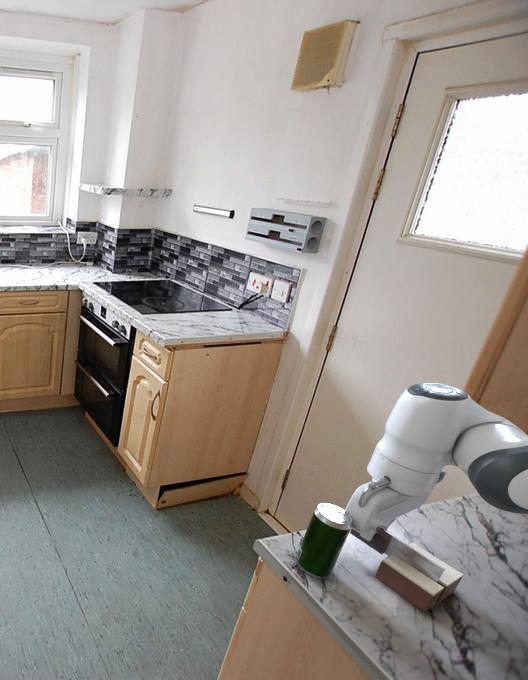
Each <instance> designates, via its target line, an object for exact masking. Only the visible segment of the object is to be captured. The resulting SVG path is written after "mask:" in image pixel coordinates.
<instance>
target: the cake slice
mask: <svg viewBox="0 0 528 680" xmlns="http://www.w3.org/2000/svg"><path fill="white" fill-rule="evenodd" d="M374 577H375V578H376V579H377V580H379V581H380V582H382V583H383V584H384V585H385V586H387V587H389V588H390V589H392V590H393V591H394V592H395V593H397V594H399V595H400V596H402V597H403V598H404V599H405V600H407V601H408V602H410V603H411V604H413V605H414V606H415V607H417V608H418V609H420V610H421V611H422V612H424V613H425V612H427V611H429V610H430V609H431V608H433V607H434V606H435V605H436V603H437V602H436V601H437V600H438V598H439V596H440V594H441V593H442V591H443V589H444V587H442V586H441V585H439V584H438V583H436V582H435V581H433V580H432V579H430V578H429V577H427V576H426V575H424V574H423V573H421V572H420V571H418V570H417V569H415V568H414V567H412V566H410V565H409V564H407V563H406V562H404V561H403V560H401V559H400V558H398V557H397V556H395V555H394V554H391V555H389V556H388V555H386V557H384V558H382V559H381V561H380V564H379V566H378V568H377V569H376V572H375V573H374Z"/></svg>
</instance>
